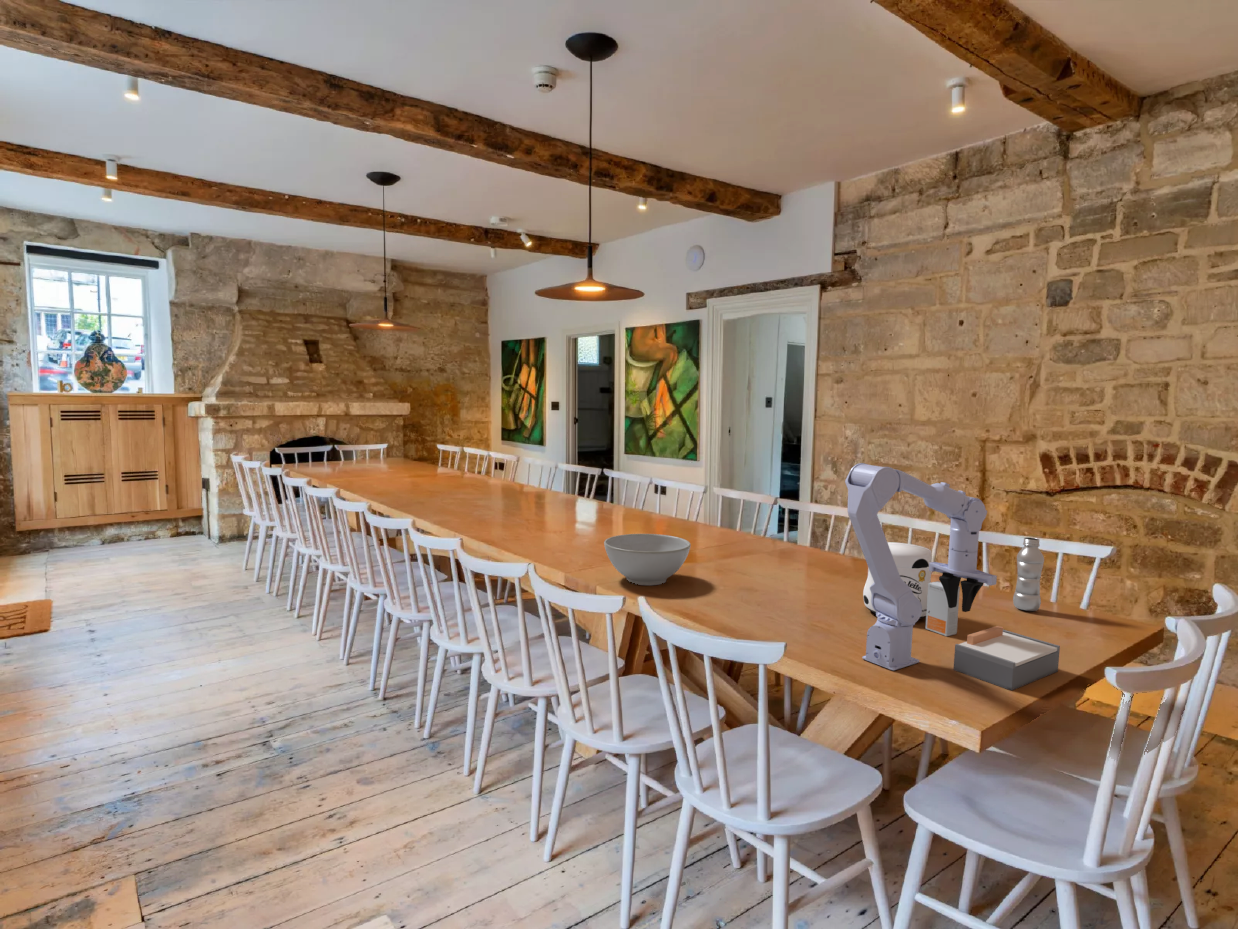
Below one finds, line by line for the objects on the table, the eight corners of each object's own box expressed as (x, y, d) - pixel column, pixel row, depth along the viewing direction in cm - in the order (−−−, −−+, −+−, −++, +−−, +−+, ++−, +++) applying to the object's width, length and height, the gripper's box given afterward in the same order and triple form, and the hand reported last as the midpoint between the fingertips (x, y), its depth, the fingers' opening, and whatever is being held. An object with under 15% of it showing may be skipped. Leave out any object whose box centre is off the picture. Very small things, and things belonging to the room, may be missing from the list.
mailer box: (1011, 690, 134) (1013, 663, 134) (953, 669, 144) (955, 644, 144) (1057, 671, 144) (1059, 645, 144) (1000, 653, 154) (1002, 629, 154)
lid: (1016, 666, 134) (1016, 654, 134) (957, 647, 144) (958, 636, 144) (1057, 651, 143) (1058, 639, 143) (999, 634, 153) (1000, 623, 153)
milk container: (889, 627, 171) (893, 557, 170) (849, 606, 188) (852, 542, 186) (947, 622, 176) (951, 554, 174) (902, 602, 193) (906, 540, 191)
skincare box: (924, 629, 170) (927, 582, 169) (935, 626, 172) (938, 580, 171) (946, 637, 165) (949, 588, 164) (957, 634, 167) (960, 586, 166)
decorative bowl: (689, 571, 224) (690, 535, 223) (689, 594, 197) (690, 553, 196) (608, 568, 226) (609, 532, 225) (598, 590, 200) (598, 549, 199)
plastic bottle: (1023, 605, 192) (1028, 535, 190) (1045, 612, 186) (1051, 540, 184) (1006, 607, 190) (1011, 537, 188) (1029, 614, 183) (1034, 541, 181)
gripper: (1005, 554, 147) (1001, 615, 149) (942, 541, 159) (939, 598, 161) (988, 557, 144) (983, 620, 145) (925, 544, 156) (921, 602, 157)
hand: (959, 609), depth 153 cm, fingers open, 3 cm apart
